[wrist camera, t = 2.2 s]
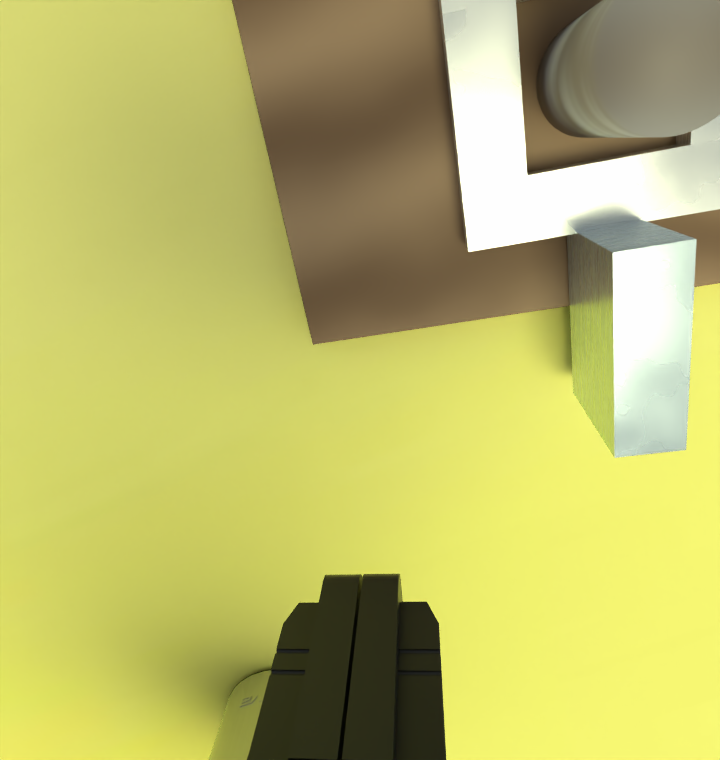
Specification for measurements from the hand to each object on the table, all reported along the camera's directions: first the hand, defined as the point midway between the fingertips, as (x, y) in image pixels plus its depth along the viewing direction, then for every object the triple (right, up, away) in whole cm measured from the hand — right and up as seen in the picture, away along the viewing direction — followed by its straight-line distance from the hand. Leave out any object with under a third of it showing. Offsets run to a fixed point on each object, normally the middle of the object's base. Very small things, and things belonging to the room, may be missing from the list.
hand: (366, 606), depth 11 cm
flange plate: (+9, +12, +10) cm, 18 cm away
